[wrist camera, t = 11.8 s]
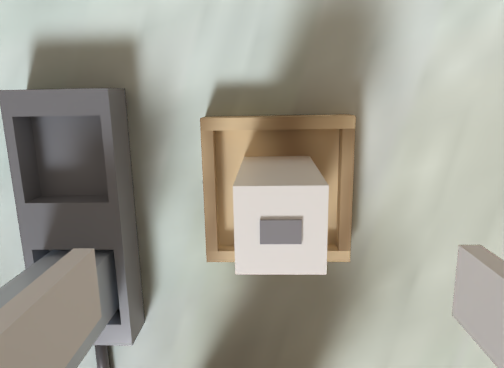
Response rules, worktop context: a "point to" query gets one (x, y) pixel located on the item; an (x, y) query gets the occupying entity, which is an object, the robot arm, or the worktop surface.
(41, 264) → the charger blue
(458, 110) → the worktop surface
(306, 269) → the block
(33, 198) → the power strip
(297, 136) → the tray
